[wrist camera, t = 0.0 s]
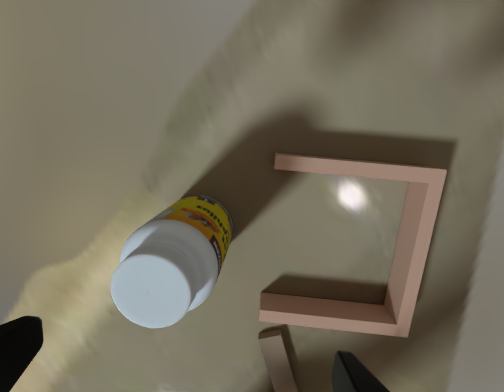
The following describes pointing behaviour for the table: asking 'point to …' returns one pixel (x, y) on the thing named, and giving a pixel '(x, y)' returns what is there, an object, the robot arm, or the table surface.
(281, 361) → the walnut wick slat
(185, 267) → the supplement bottle
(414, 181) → the terracotta holder
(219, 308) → the table surface
